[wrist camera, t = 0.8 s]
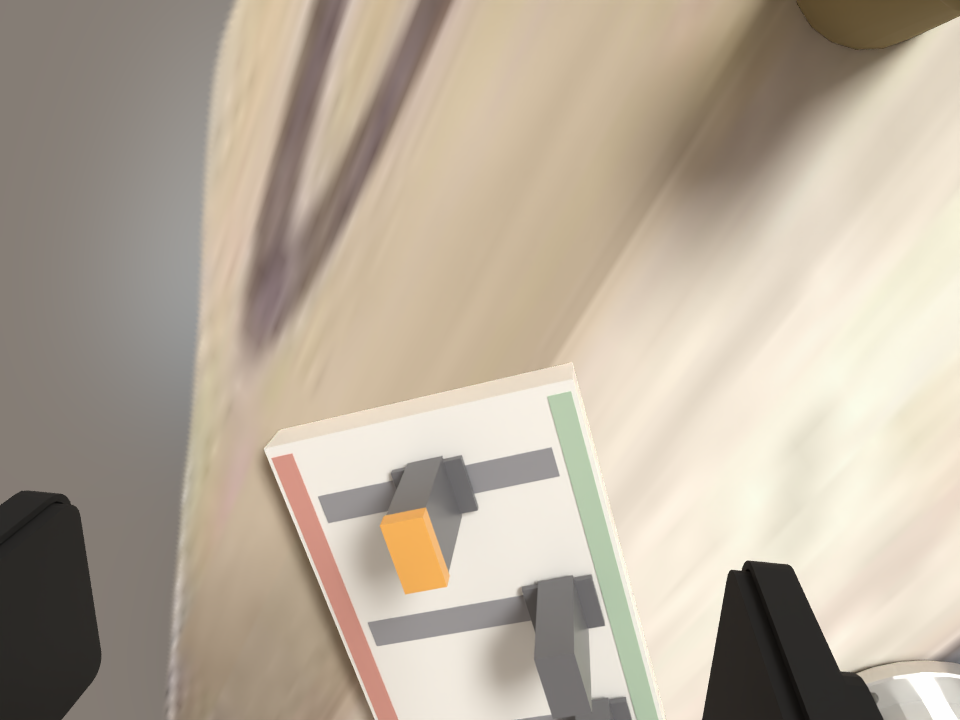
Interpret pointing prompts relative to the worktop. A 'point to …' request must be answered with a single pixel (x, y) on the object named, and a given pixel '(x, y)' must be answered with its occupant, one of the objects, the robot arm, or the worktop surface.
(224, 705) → the worktop surface
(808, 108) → the worktop surface
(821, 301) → the worktop surface
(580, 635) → the breaker
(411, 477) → the breaker
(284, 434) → the breaker panel
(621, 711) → the breaker
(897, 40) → the cork
